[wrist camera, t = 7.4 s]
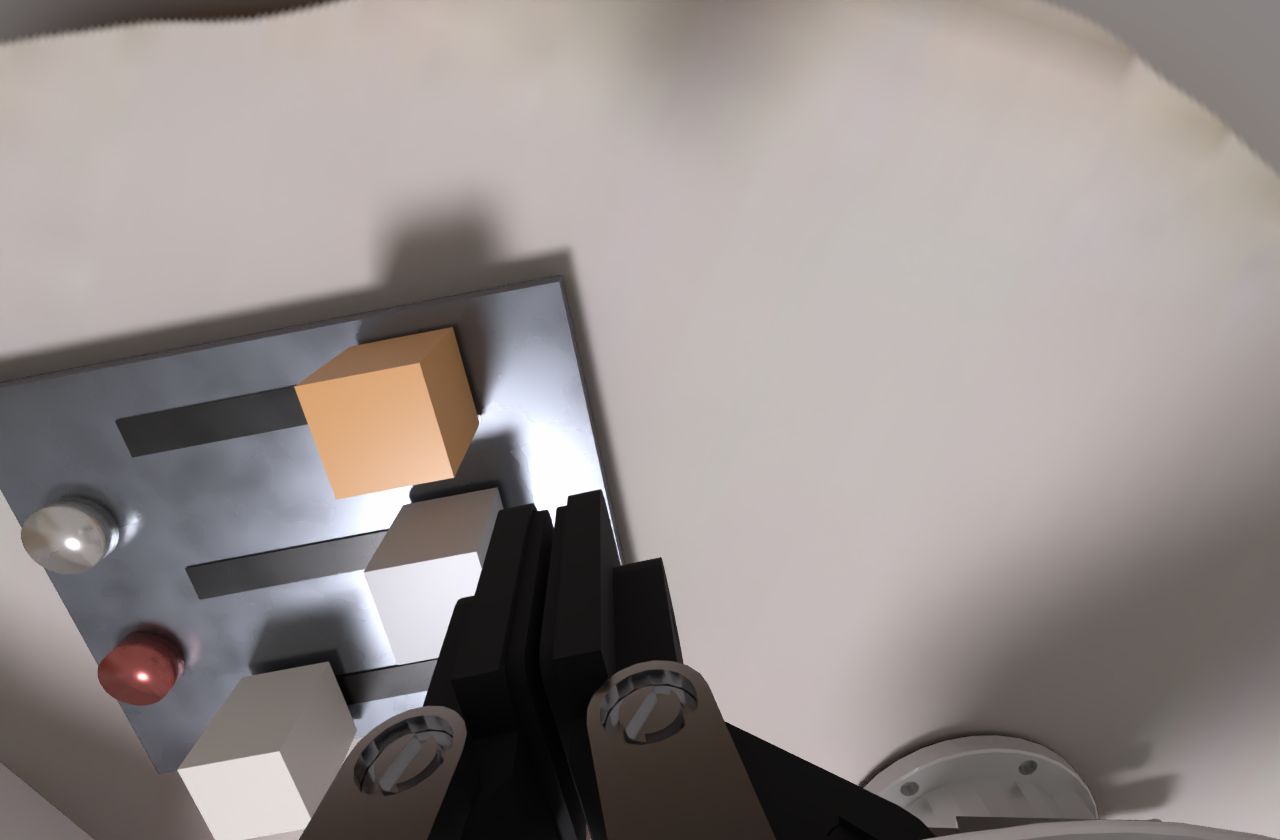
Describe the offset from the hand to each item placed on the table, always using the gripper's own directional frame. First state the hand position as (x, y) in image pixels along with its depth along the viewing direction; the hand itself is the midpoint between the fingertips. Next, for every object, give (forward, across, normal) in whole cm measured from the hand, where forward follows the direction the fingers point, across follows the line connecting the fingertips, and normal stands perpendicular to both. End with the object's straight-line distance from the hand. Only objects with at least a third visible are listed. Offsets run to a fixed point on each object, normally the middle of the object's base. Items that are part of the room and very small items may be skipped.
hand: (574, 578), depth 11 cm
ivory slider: (+13, +14, +12) cm, 23 cm away
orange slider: (+13, +6, 0) cm, 15 cm away
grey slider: (+13, +6, +6) cm, 16 cm away
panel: (+15, +11, +6) cm, 20 cm away
